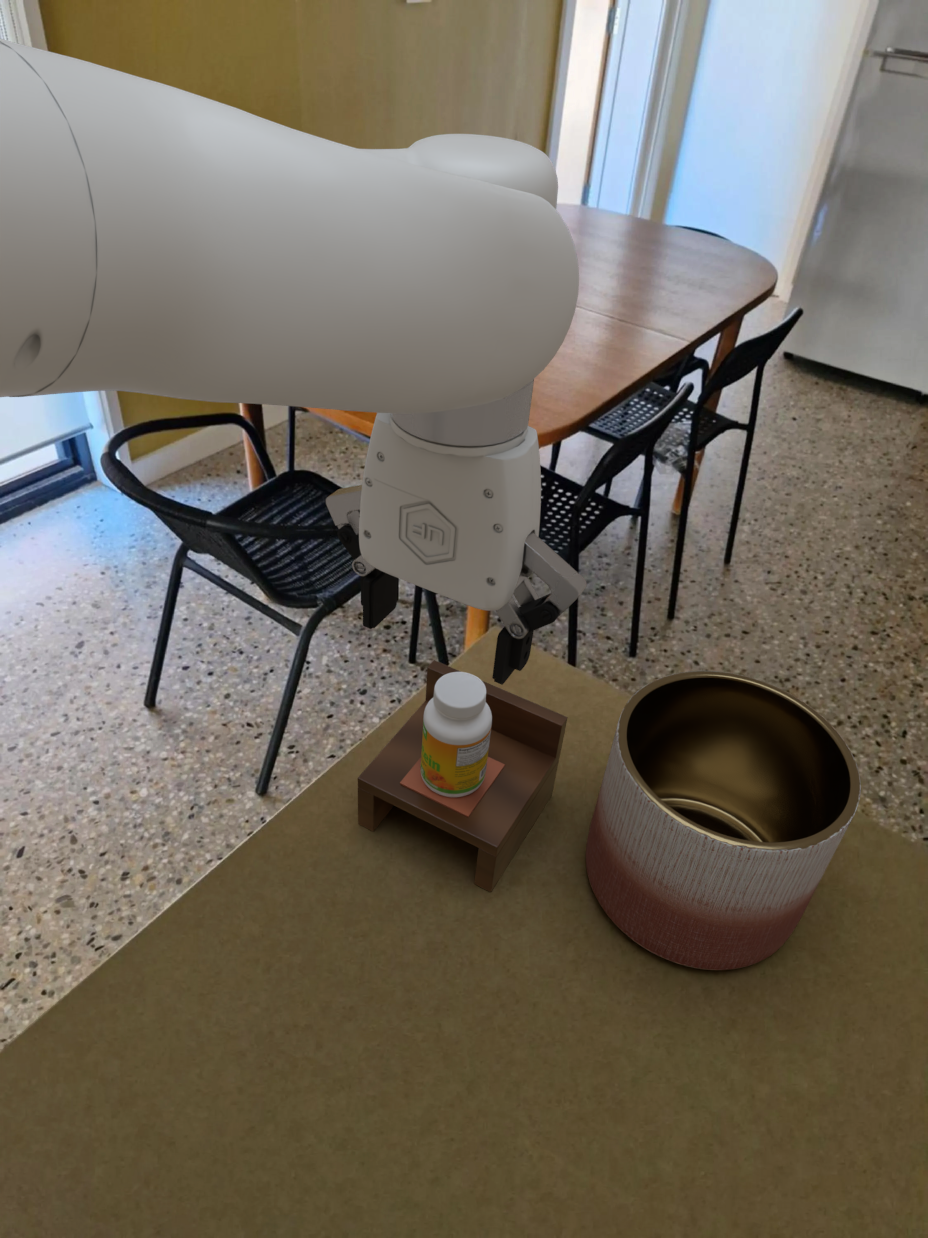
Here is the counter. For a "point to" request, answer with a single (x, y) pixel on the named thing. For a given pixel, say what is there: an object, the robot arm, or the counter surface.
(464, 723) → the supplement bottle
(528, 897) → the counter surface
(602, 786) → the planter
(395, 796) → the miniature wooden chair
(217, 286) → the robot arm
